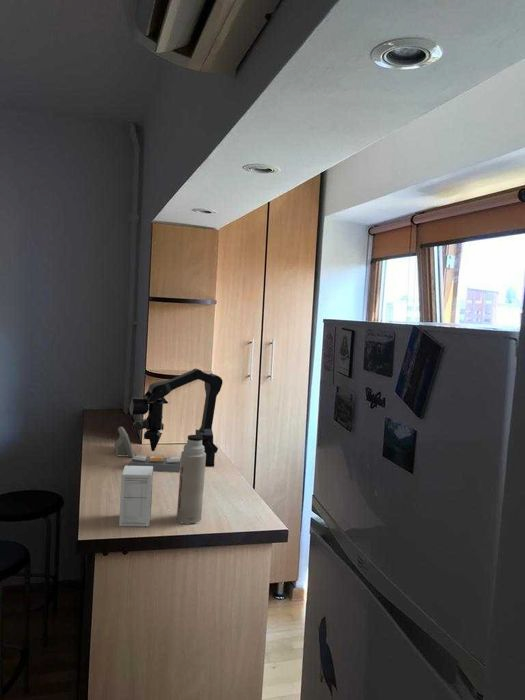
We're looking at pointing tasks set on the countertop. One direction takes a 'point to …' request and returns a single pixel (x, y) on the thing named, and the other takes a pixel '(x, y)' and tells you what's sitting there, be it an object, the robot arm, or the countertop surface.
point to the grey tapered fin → (123, 444)
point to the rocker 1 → (139, 457)
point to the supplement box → (136, 496)
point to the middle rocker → (156, 458)
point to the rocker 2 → (173, 459)
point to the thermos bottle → (191, 480)
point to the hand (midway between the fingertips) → (152, 450)
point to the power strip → (158, 464)
